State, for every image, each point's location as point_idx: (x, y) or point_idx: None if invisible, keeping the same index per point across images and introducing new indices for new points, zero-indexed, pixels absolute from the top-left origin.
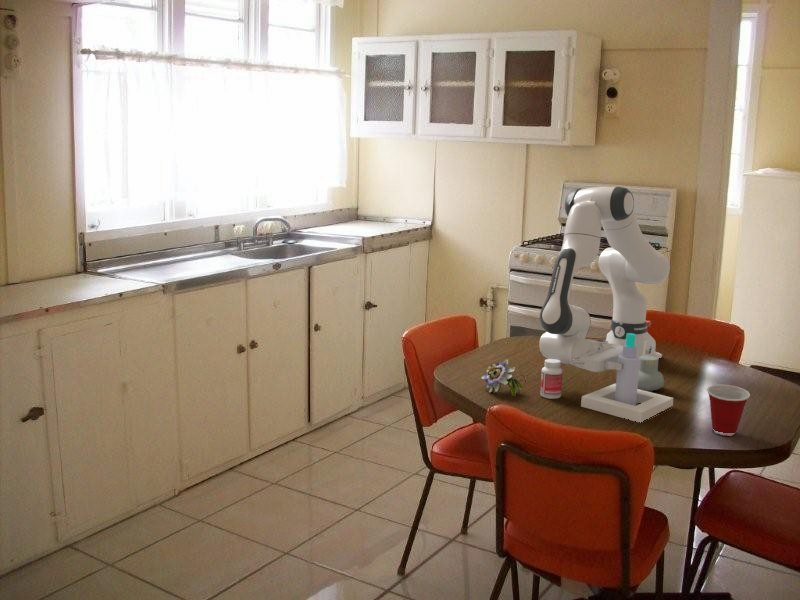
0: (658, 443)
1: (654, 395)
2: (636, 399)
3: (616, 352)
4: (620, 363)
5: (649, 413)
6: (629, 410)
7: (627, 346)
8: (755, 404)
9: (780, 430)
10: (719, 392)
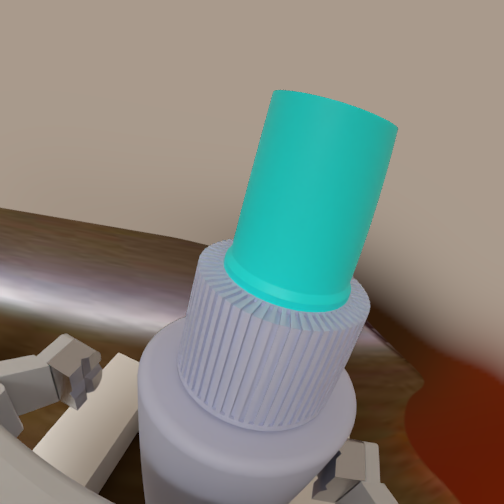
0: (418, 388)
1: (107, 403)
2: (103, 476)
3: (22, 500)
4: (351, 452)
5: None
6: None
7: (349, 288)
8: (59, 245)
9: (196, 249)
10: None
